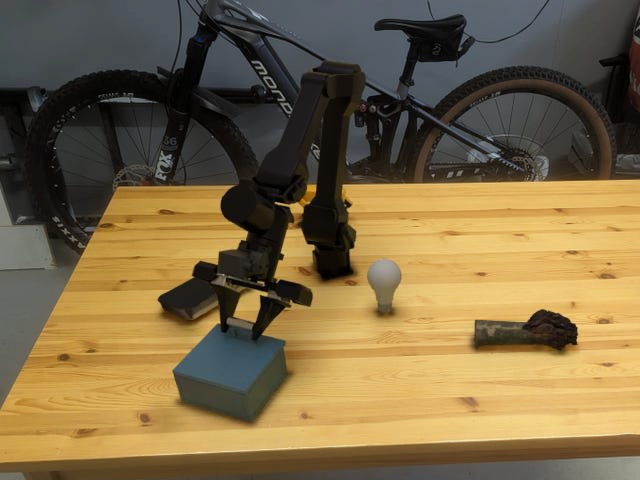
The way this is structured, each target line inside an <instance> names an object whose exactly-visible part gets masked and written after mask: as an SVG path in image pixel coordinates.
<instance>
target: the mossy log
mask: <svg viewBox="0 0 640 480" xmlns="http://www.w3.org/2000/svg"><path fill="white" fill-rule="evenodd" d="M578 328H579V327H578V326H577V324H576V323H573V322H572V321H571V319H570V318H569V317H567V316H564V315H563V314H561V313H559V312H555V311H552V310H547V309H545V308H541V309H538V310H537V311H535V312H534V313H532V315H531V316H530V317H529V318H528V319H527V321H515V320H514V321H513V320H512V321H511V320H496V319H495V320H493V319H474V335H473V337H474V338H473V341H474V347H494V346H496V347H497V346H543V347H544V346H545V347H549V348H552V349H554V350H557V351H559V352H561V351H562V349H565V348H566V346H567V345H571V346H573V347H576V346H578V345H579V344H578V337H579V332H578V331H579V330H578Z"/></svg>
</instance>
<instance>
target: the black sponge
mask: <svg viewBox="0 0 640 480" xmlns="http://www.w3.org/2000/svg"><path fill="white" fill-rule="evenodd" d="M244 280H246V279H244ZM248 281H250V279H248ZM245 289H246V288H245V287H241V286H237V285H236V287H235V291H237V292H239V293H241V291H243V290H245ZM157 302H158V303H159V304H160V307H161V309H162V310H164V311H166V312H167V313H171V314H174V315H176V316H178V317H179V318H180V319H182V320H188V321H194V320H195V319H197V318H199V317H200V316H202V315H205V314H206V313H208V312H209V311H210V310H212V309H214V308H215V307H217V306H219V304H218V299H217V295H216V293H215V291H214V289H213V288H212V287H209V286H208V282H206V281H203V280H200V279H198V278H195V277H192V278H190V279H187V280H186V281H184V282H182V283H181V284H179V285H177V286H176V287H174V288H172V289H170V290H168V291H166V292H164V293H162V294H160V295H159V296H158V297H157Z"/></svg>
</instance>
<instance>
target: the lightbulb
mask: <svg viewBox="0 0 640 480" xmlns="http://www.w3.org/2000/svg"><path fill="white" fill-rule="evenodd" d="M366 278H367V282H368V284H369V286H370V288H371V289H372V290H373V292H374V295H375V300H376V302H377V309H378V311H379V312H381V313H384V314H385V313H389V312H390V311H391V310H392V309H393V308H392V307H393V301H394V297H395V296H394V295H395V292H396V290H397V289H398V288H399V285H400V284H401V281H402V271H401V267H400V266H399V265H398V264H397V263H396V262H395V261H394V260H392V259H389V258H380V259H377V260H375V261H373V262H372V263H371V264H370V266H369V267H368V270H367V273H366Z"/></svg>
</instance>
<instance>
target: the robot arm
mask: <svg viewBox="0 0 640 480" xmlns="http://www.w3.org/2000/svg"><path fill="white" fill-rule="evenodd" d="M366 84H367V78H366V74H365V72H364V71H362V68H361V66H360V65H359V64H358V63H351V62H350V63H349V62H343V61H337V60H330V59H325V60H323V61H322V62H321V63H320V65H318V66H313V67H309V68H308V71H305V72H304V73H302V75H301V78H300V83H299V86H300V89H299V91H298V94H297V97H296V99H295V102H294V105H293V107H292V110H291V112H290V114H289V116H288V120H287V123H286V125H285V127H284V130H283V132H282V135H281V137H280V140H279V142H278V144H277V146H276V147H275V146H274V148H273V149H271V150H270V151H268V152H267V153H266V154H265V155H264V157H263V159H262V160H261V162H260V164H259V166H258V168H257V170H256V171H254V173H253V174H252V175H251V176H250V177H249V178H246V177H240V178H239V181H238V184H236V185H233V186H232V187H230V188H228V189H227V190H226V191H225V193H224V194H223V195H222V196H221V199H220V203H219V206H220V207H219V208H220V212H221V214H222V216H223V217H224V219H226V220H227V221H228V222H230V223H232V224H233V225H236V226H237V227H238V228H240V229H242V230H243V231H245V232H247V234H246V237H245V239H240V242H238V246H237V248H236V249H235V248H234V249H233V248H231V249H225V250H220V251H218V255H217V256H218V257H217V263H213V262H208V261H204V260H199V261H198V262H197V263H196V264H194V266H193V269H192V273H191V277H192V278H194V277H195V278H198V279H200V280H203V281H206V282H208V286H209V287H212V288H213V289H214V291H215V293H216V295H217V299H218V304H219V305H218V311H219V324H220V325H221V332H222V333H227V331H228V329H229V327H230V326H228V325H227V323H226V322H227V318H228V317H229V316H232V317H235V314H236V310H237V307H238V305H239V301H240V299H241V296H242V292H237V291H235V287H236V285H237V286H241V287H245V289H249V290H252V291H253V290H254V291H259V292H263V293H266V294H267V295H262V294H259V303H260V304H259V308H258V309H259V310H258V313H257V315H256V319H255V321H254V322H255V325H254V329H253V333H252V338H251V339H252V340H253V341H257V340H258V338H259V337H260V336H261V335H263V334H264V332H265V331H266V330H267V329H268V327H269V326H270V325H271V324H272V323H273V322H274V320H275V319H276V318H278V316H279V315H280V314H281V313H282V312H283V311H284V310H286V308H288V309H291V308H292V304H293V305H294V304H296V305H299V306H303V307H307V308H311V307H312V304H313V303H312V302H313V299H314V292H313V291H312V288H309V287H308V286H306V285H304V284H302V283H300V282H294V281H290V280H286V279H282V278H281V279H279V280H278V278H276V277H275V276H276V272H277V268H278V265H279V261H281V262H283V261H284V257H285V254H284V253H282V250H283V247H284V243H285V239H286V235H287V232H288V228H289V225H290V224H294V223H295V221H296V220H295V216H294V214H293V213H292V210H291V207H290V205H295V204H298V202H300V201H301V199H302V198H303V197H304V195H305V194H306V191H307V185H308V183H309V182H308V181H309V179H310V172H309V168H308V163H307V162H308V158H309V155H310V152H311V149H312V147H313V145H314V141H315V139H316V136H317V133H318V131H319V128H320V127H321V132H320V143H319V154H318V163H317V173H316V174H317V176H316V183H315V186H316V194H315V196H314V198H313V199H312V200H311V202H308V203H309V204H306V205H305V207H304V208H303V211H302V214H303V217H302V219H303V220H302V219H301V220H302V224H301V226H300V228H301V232H302V235H303V238H304V240H305V244H306V245H308V246H309V245H310V246H311V245H312V246H313V249H312V250H311V256H312V265H313V266H312V267H313V269H314V270H315V272H316V273H317V275H319V277H320V278H321V280H322V281H329V280H333V279H337V278H342V277H345V276H346V277H347V276H350V275H353V274H354V273H355V272H354V269H353V268H352V266H351V253H350V252H351V251H350V250H353V249H355V247H356V244H355V243H356V241H357V230H356V229H355V228H354V227H353V226H352V225H350V224H349V215H348V212H349V211H348V209H346V207H345V206H346V205H345V204H344V202H343V200H342V188H344V180H345V179H344V177H345V168H346V159H347V151H348V139H349V132H350V131H349V130H350V121H351V117H352V115H353V114H354V113H355V111H356V110H357V109H358V107H359V106H360V104H361V102H362V98H363V93H364V91H365V89H366V86H367V85H366ZM244 279H246V280H244ZM248 279H250V281H248ZM291 302H292V304H291Z"/></svg>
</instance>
